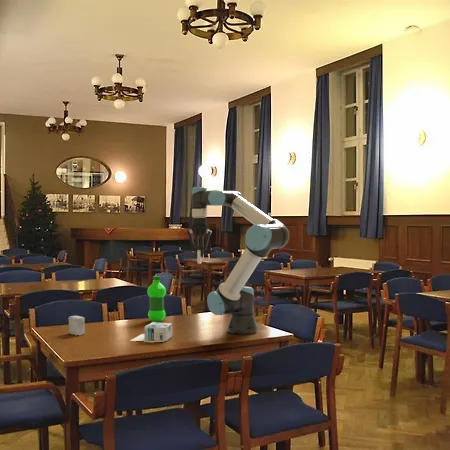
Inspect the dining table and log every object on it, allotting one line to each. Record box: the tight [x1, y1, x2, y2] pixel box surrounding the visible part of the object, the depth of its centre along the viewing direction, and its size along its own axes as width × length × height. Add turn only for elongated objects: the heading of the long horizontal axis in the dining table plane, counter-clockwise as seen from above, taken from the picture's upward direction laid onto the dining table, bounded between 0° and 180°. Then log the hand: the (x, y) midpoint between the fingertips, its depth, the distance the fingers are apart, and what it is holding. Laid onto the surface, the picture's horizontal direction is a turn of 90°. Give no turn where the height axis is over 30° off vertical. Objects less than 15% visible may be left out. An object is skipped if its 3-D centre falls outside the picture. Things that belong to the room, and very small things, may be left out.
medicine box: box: [68, 315, 86, 336], centre depth 286 cm, size 8×4×9 cm, turn 47°
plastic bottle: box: [146, 275, 167, 323], centre depth 319 cm, size 10×10×25 cm
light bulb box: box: [143, 321, 173, 342], centre depth 274 cm, size 11×7×11 cm
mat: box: [129, 333, 165, 343], centre depth 276 cm, size 16×15×1 cm
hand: (199, 263), depth 294 cm, fingers closed
